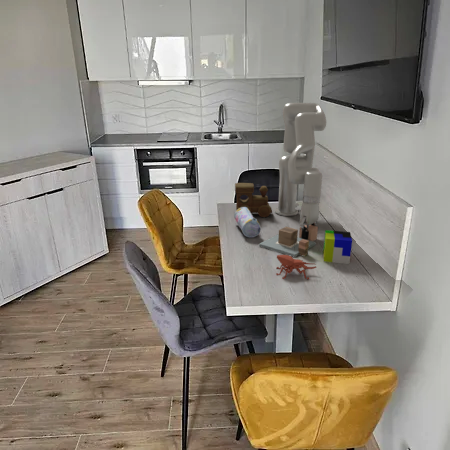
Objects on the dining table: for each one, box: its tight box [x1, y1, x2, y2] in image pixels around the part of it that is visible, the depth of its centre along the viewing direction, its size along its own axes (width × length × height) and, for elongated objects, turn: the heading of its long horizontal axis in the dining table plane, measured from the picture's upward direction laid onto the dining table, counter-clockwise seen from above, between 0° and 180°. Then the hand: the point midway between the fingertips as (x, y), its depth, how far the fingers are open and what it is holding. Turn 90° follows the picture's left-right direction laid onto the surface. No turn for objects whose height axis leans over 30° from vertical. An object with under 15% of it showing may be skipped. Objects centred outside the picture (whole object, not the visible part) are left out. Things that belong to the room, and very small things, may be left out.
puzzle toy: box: [322, 229, 353, 265], centre depth 164 cm, size 10×10×10 cm
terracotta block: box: [298, 225, 319, 242], centre depth 183 cm, size 6×6×6 cm
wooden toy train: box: [234, 182, 273, 218], centre depth 215 cm, size 20×11×17 cm, turn 89°
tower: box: [298, 239, 310, 257], centre depth 167 cm, size 3×3×6 cm
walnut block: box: [278, 226, 299, 246], centre depth 176 cm, size 6×6×6 cm
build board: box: [258, 233, 317, 258], centre depth 177 cm, size 18×18×1 cm
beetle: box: [275, 243, 317, 280], centre depth 150 cm, size 15×12×13 cm
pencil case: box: [233, 207, 261, 238], centre depth 193 cm, size 21×9×10 cm, turn 11°
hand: (308, 236), depth 184 cm, fingers closed on terracotta block, 6 cm apart
